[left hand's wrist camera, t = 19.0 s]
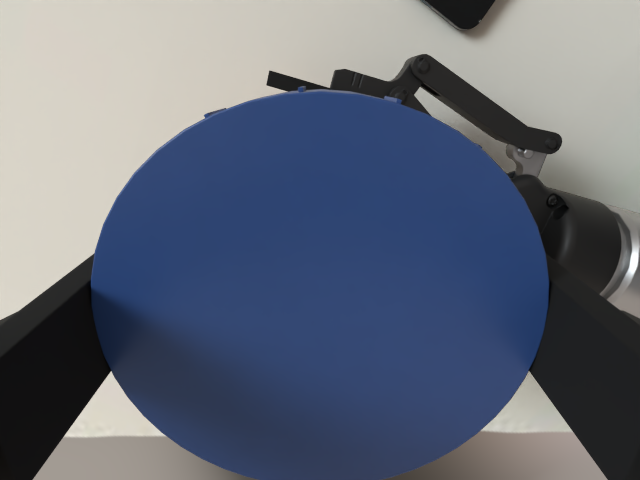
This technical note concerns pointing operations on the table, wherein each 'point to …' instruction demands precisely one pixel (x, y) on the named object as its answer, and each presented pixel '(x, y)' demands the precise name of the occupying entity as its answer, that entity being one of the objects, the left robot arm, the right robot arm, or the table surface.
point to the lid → (320, 288)
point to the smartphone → (460, 11)
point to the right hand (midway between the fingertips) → (251, 169)
